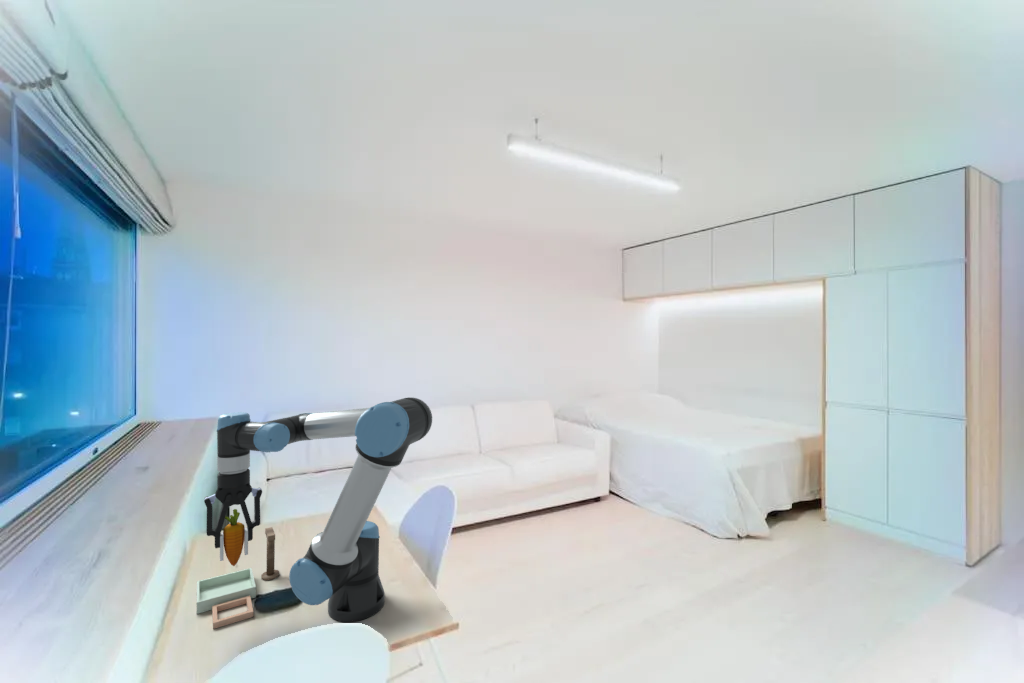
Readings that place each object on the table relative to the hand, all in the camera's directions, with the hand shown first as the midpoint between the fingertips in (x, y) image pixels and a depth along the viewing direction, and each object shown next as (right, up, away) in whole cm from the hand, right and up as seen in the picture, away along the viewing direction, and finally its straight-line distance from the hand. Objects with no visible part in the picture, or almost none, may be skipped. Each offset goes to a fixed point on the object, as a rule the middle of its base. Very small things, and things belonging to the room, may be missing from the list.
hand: (234, 555), depth 121 cm
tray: (-8, -16, +9) cm, 20 cm away
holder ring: (-1, -16, 0) cm, 16 cm away
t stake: (-1, -16, +21) cm, 26 cm away
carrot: (0, -3, 0) cm, 3 cm away
